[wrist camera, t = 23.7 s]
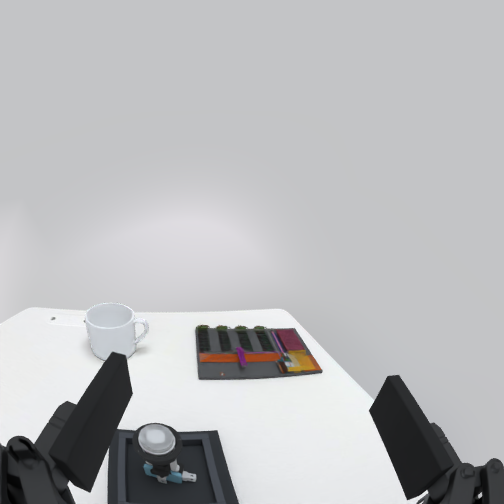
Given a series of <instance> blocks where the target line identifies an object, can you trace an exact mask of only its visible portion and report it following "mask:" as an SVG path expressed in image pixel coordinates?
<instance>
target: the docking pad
mask: <svg viewBox="0 0 504 504" xmlns="http://www.w3.org/2000/svg"><path fill="white" fill-rule="evenodd" d="M134 433H135V431H134V430H122V429H116V432H115V434H114V436H113V439H112V441H111V443H110V447H109V462H108V504H239V502H238V499H237V496H236V493H235V490H234V487H233V484H232V481H231V477H230V474H229V471H228V467H227V464H226V460H225V457H224V453H223V450H222V446H221V442H220V439H219V435H218V431H217V430H215V431H197V432H178V433H179V435H180V437H181V439H182V450H181V452H180V454H179V455H178V457H177V459H176V461H177V462H178V463H182V464H183V465H184V471H186V472H188V473H191V474H196V482H193V481H188V480H187V481H183V480H182V483H176V482H172V481H168V480H166V481H167V484H165V483H161V482H159V481H158V478H156V477H153V476H149V475H147V474H146V473H145V470H144V464H145V460H144V459H143V458H142V457H141V456H140V455H139V454H138V453H137V452H136V451H135V449H134V447H133V443H132V438H133V435H134ZM174 447H175V448H176V443H175V446H174ZM140 449H141V450H142V451H143V449H142V447H141V446H140ZM190 476H193V475H190ZM191 480H193V479H191ZM162 482H164V481H162Z"/></svg>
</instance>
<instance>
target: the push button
mask: <svg viewBox="0 0 504 504" xmlns="http://www.w3.org/2000/svg"><path fill="white" fill-rule="evenodd" d="M132 443H133V447H134V449H135V451H136V452H137V453H138V454H139V455H140V456H141V457H142V458H143V459H144V460H145V464H144V470H145V473H146V474H147V475H149V476H153V477H156V478H158V481H159V482H161V483H165V484H167V481H166V480H168V481H172V482H176V483H182V480H183V481H187V480H188V481H193V482H196V474H191V473H188V472H186V471H184V465H183V464H182V463H178V462H177V461H176V459H177V457H178V455H179V454H180V452H181V450H182V439H181V437H180V435H179V433H178V432H177V431H176V430H174V429H173V428H171V427H170V426H167V425H164V424H160V423H150V424H146V425H143V426H141V427H140V428H138V429H137V430H136V431H135V433H134V435H133V438H132ZM175 443H176V448H175V447H174V446H175ZM140 446H141V447H142V449H143V451H142V450H141V449H140ZM190 475H193V476H190ZM191 479H193V480H191ZM162 481H164V482H162Z"/></svg>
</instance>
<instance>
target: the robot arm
mask: <svg viewBox="0 0 504 504" xmlns="http://www.w3.org/2000/svg"><path fill="white" fill-rule="evenodd" d="M132 394H133V392H132V387H131V382H130V376H129V371H128V365H127V358H126V355H124V354H120V353H116V352H113V351H112V352H111V354H110V355H109V357H108V358H107V360H106V361H105V362H104V364H103V365H102V367H101V368H100V370H99V371H98V373H97V374H96V376H95V377H94V379H93V380H92V382H91V383H90V385H89V386H88V388H87V389H86V391H85V393H84V394H83V396H82V397H81V399H80V400H79V402H78V404H77V405H76V404H73V403H71V402H69V401H66V402H65V403H63V404H62V405H60V406H59V407H58V408H57V409H56V411H55V412H54V414H53V417H51V418H50V420H49V423H47V425H46V426H45V428H44V429H43V431H42V432H41V434H40V436H39V437H38V439H37V440H36V442H35V444H33V443H32V442H31V441H30V440H29V439H28V438H26V437H24V436H15V437H13V438H11V439H10V440H9V441H8V443H7V446H6V447H4V446H2V445H1V444H0V504H75V501H74V499H73V497H72V494H71V492H70V490H69V487H68V486H67V484H68V482H69V480H70V481H71V482H72V483H73V485H75V486H77V487H79V488H81V489H83V490H85V491H88V492H91V490H92V487H93V484H94V482H95V479H96V477H97V474H98V472H99V469H100V467H101V465H102V462H103V460H104V457H105V455H106V453H107V450H108V448H109V446H110V443H111V441H112V439H113V436H114V434H115V432H116V429H117V427H118V425H119V423H120V420H121V418H122V416H123V414H124V412H125V409H126V407H127V405H128V403H129V401H130V399H131V396H132ZM369 412H370V414H371V416H372V418H373V421H374V423H375V425H376V427H377V429H378V432H379V434H380V436H381V439H382V441H383V443H384V445H385V448H386V450H387V452H388V455H389V457H390V459H391V462H392V464H393V466H394V469H395V471H396V474H397V476H398V478H399V481H400V483H401V486H402V488H403V491H404V493H405V496H406V498H407V500H409V499H412V498H415V497H417V496H420V495H421V494H422V493H423V492H425V491H426V490H428V492H429V493H428V494H426V495H425V496H424V497H423V498H421V499H420V500H419V501H418V502H417V504H419V503H421V502H422V501H423V500H424V502H423V503H422V504H504V466H503V464H502V462H501V461H500V460H498V459H496V458H493V459H491V460H490V461H488V462H487V464H485V465H484V466H478V467H474V466H473V465H471V464H469V463H462V462H461V461H460V459H459V457H458V456H457V454H456V452H455V451H454V449H453V447H452V446H451V444H450V443H449V442H448V439H447V437H445V434H444V433H443V431H442V429H441V428H440V427H439V426H437V425H436V424H435V423H429V421H428V419H427V418H426V416H425V415H424V413H423V411H422V410H421V408H420V407H419V405H418V404H417V402H416V400H415V399H414V397H413V396H412V394H411V393H410V391H409V390H408V388H407V387H406V385H405V384H404V382H403V381H402V379H401V378H400V376H399V375H395V376H394V375H393V376H388V377H387V378H386V380H385V382H384V384H383V386H382V388H381V390H380V392H379V394H378V396H377V398H376V399H375V401H374V403H373V405H372V406H371V408H370V410H369ZM481 492H482V497H481V498H478V494H480V493H481Z"/></svg>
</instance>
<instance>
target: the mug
mask: <svg viewBox="0 0 504 504" xmlns="http://www.w3.org/2000/svg"><path fill="white" fill-rule="evenodd" d="M85 322H86V327H87V331H88V335H89V340H90V344H91V348H92V351H93V353H94V354H95V355H96V356H97V357H99V358H100V359H102V360H107V358H108V357H109V355H110V354H111V352H112V351H113V352H116V353H120V354H124V355H126V358H128V357H130V356H131V355H132V354H133V353H134V351H135V349H136V343H138V342H139V341H140V340H142V339H143V338H144V337H145V336H146V335H147V333H148V330H149V326H148V323H147V321H146V320H144V319H142V318H136V319H135V315H134V312H133V310H132V309H131V308H129V307H128V306H126V305H123V304H119V303H102V304H98V305H95V306H93V307H91V308H89V309H88V310H87V312H86V314H85ZM135 323H142V324H143V325H144V327H145V331H144V332H143V334H141V335H140V336H139V337H138V338H137V339H135Z"/></svg>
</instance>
